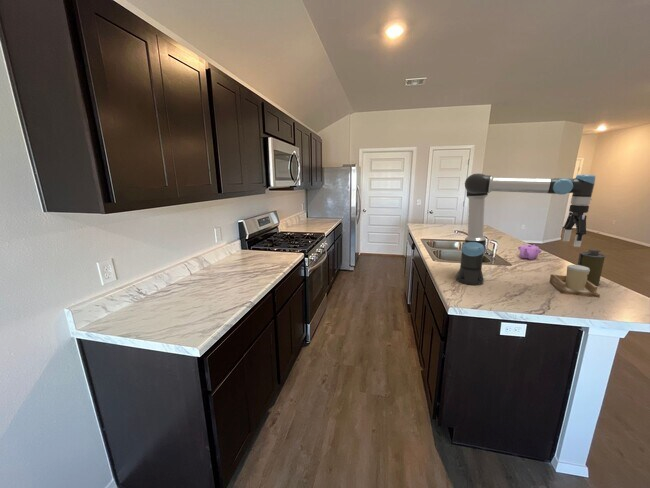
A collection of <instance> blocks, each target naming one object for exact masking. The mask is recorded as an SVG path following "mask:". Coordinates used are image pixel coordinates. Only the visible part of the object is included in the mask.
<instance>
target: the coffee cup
mask: <svg viewBox="0 0 650 488" xmlns="http://www.w3.org/2000/svg"><path fill="white" fill-rule="evenodd" d="M589 271H590V269H589V268H588V267H585V266H580V265H578V264H568V265H567V266H566V275H565V276H566V287H567V288H569V289H573V290H584V288H585V285H586V281H587V278H588V275H589Z"/></svg>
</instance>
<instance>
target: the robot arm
mask: <svg viewBox="0 0 650 488" xmlns="http://www.w3.org/2000/svg"><path fill="white" fill-rule="evenodd" d="M595 183H596V175H595V174H577V175H576V176H575V178H559V177H557V178H547V177H546V178H544V177H543V178H541V177H540V178H536V177H494V176H493V175H486V174H484V173H472V174H471V175H469V176H468V177H467V178H466V179H465V181H464V188H465V190H466V194H465V195H466V197H467V198H468V215H467V216H468V218H467V219H468V220H467V221H468V223H467V236H466V237H465V238H464V243H463V244H462V246H461V255H460V256H461V257H460V268H459V269H458V272H457V273H456V277H455V280H456V282H458V283H461V284H464V285H468V286H469V285H470V286H481V285H483V284H484V280H485V277H484V276H483V271H482V267H483V260H484V256H485V254H486V252H487V247H486V238H485V237H484V224H485V223H484V221H485V220H484V219H485V202H486V201H485V199H486V197H488V196H489V195H488V194H490V193H491V192H506V193H529V194H530V193H532V194H534V193H535V194H553V195H555V194H556V195H566V194H572V196H571V198H570V205H569V209H568V212H569V213H568V217H567V218H566V221H565V222H564V225H563V228H564V229H565V230H564V235H563V239H562V241H563V242H570V240H571V235H572V231H573V227H574V226H575V228H576V232H575V237H574V241H573V247H574V248H581V245H582V242H583V238H584V235H586V234H587V217H588V216H587V215H585V214H588V212H589V209H590V206H589V205H590V204H591V201H593V199H592V195H593V192H594V187H595V185H596V184H595Z"/></svg>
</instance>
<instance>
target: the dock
mask: <svg viewBox="0 0 650 488" xmlns="http://www.w3.org/2000/svg"><path fill="white" fill-rule="evenodd" d="M548 282H549V283H550V285H552V286H553V287H554V288H555V289H556V290H557V291H558V292H559V293H560V294H562V295H573V296H579V297H581V296H583V297H591V298H600V297H601V295H600V293H599V292H597V291H598V286H595V285H594V284H592V283H591V282H589V281H588V280H587V281H586V285H585V288H584V290H573V289H569V288H567V287H566V275H564V274H563V275H562V274H550V275H549V281H548Z"/></svg>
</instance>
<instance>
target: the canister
mask: <svg viewBox="0 0 650 488" xmlns="http://www.w3.org/2000/svg"><path fill="white" fill-rule="evenodd" d="M600 252H601V251H600V250H599V249H593V248H591V249H589V250H588V251H587V252H586V251H583V252H579V256H578V261H577V265H580V266H585V267H588V268H589V269H590V271H589V275H588V278H587V280H588V281H589V282H591V283H592V284H594V285H595V286H597V285H598V286H600V281H601V276H602V271H603V267H604V263H605V262H604V261H605V258H606V255H605V254H602V253H600ZM598 286H597V287H598Z"/></svg>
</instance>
